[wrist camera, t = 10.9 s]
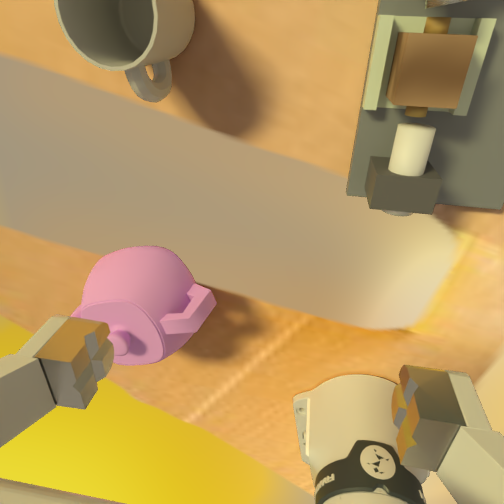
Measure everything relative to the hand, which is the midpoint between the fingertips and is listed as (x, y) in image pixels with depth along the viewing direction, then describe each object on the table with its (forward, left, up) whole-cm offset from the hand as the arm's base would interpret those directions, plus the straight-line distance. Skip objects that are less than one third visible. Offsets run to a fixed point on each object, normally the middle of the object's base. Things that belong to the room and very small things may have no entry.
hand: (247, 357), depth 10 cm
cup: (+7, +13, -29) cm, 33 cm away
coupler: (+5, -9, -28) cm, 30 cm away
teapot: (-21, +17, -29) cm, 40 cm away
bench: (+5, -12, -29) cm, 32 cm away
